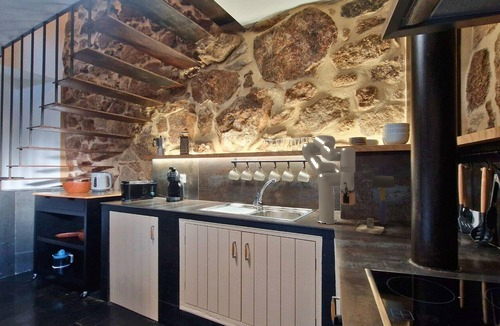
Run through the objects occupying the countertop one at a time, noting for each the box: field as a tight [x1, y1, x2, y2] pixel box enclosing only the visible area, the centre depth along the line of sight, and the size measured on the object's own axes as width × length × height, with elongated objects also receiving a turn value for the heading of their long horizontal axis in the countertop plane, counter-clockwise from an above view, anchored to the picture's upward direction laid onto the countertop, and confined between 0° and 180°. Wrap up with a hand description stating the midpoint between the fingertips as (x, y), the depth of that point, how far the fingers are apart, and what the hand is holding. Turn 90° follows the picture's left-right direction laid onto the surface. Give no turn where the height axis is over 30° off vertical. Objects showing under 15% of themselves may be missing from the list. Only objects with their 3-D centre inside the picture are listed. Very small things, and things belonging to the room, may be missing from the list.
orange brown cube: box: [340, 192, 356, 206], centre depth 143 cm, size 6×6×6 cm
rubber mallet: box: [371, 175, 396, 225], centre depth 161 cm, size 12×8×30 cm, turn 70°
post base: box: [355, 217, 385, 235], centre depth 144 cm, size 12×12×6 cm
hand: (348, 202), depth 143 cm, fingers closed on orange brown cube, 6 cm apart
